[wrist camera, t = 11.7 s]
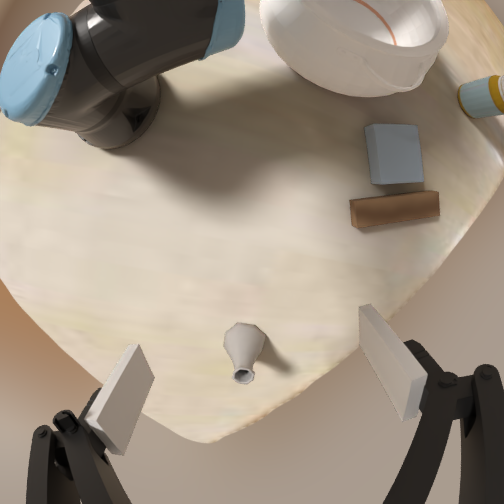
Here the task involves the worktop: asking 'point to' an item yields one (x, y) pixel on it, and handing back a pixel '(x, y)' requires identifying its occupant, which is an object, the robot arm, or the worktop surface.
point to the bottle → (483, 97)
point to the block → (394, 208)
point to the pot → (357, 41)
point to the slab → (394, 153)
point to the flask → (243, 350)
